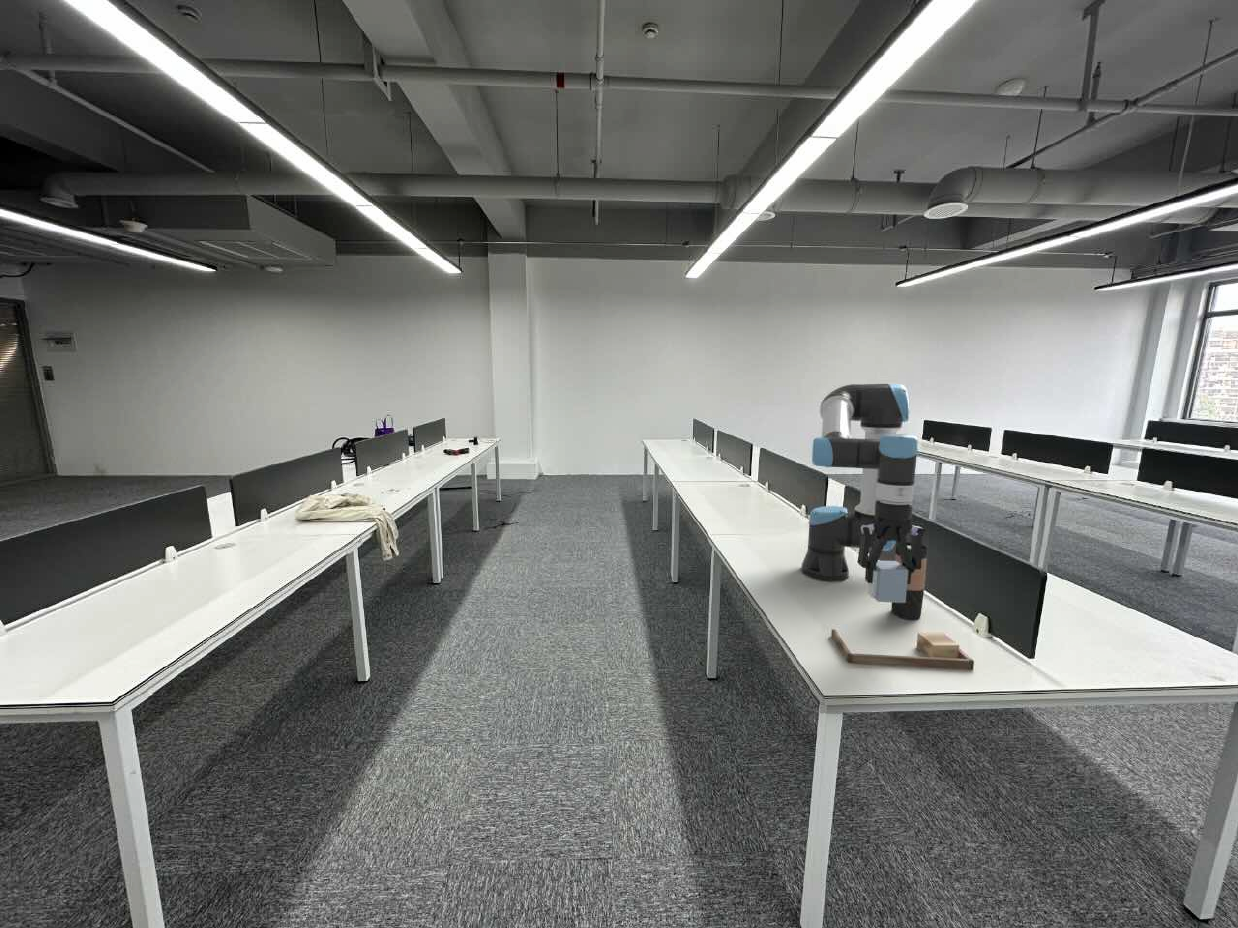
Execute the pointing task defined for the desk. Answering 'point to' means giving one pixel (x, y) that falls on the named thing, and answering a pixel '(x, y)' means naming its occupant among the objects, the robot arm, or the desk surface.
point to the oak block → (937, 645)
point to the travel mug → (912, 589)
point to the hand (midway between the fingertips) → (886, 595)
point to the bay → (903, 658)
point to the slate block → (891, 582)
